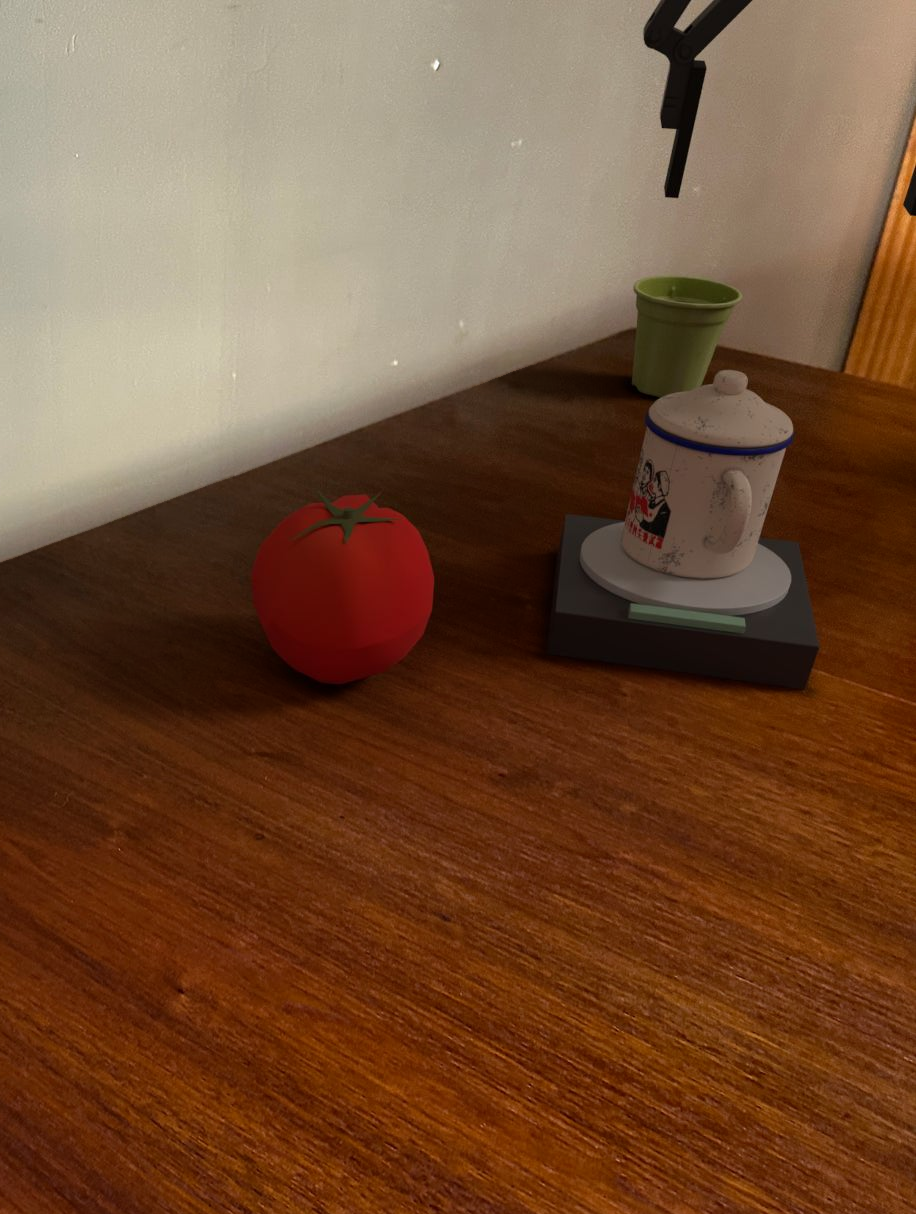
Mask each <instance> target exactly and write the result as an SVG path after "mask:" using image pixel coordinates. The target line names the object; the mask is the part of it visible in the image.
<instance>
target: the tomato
mask: <svg viewBox="0 0 916 1214" xmlns="http://www.w3.org/2000/svg"><path fill="white" fill-rule="evenodd" d="M315 492H316V493H317V495H318V496H319V497H320V499H321V501H322V502H311V503H309V504H307V505H305V506H303V507H301V508H299V509H298V510H296V511H294V512H292V513H290V514H289V515H287V516H286V517H284V518H283V520H282V521H281V522H279V523H278V525H277V526H275V528H274V529H273V530H272V531H271V533H270V534H268V536H267V537H266V539H265V540H264V541H263V542H262V543H261V544H260V546H259V548H258V551H257V553H256V556H255V558H254V561H253V565H252V568H251V570H250V585H251V593H252V600H253V608H254V611H255V613H256V615H257V618H258V620H259V623H260V624H261V627H262V629H263V631H264V633H265V635H266V638H267V640H268V643H269V644H270V647H271V648H272V650H273V651H274V652H275V653H276V655H278V657H279V658H281V659H282V660H283V661H284V662H285V663H286V664H287V665H289V666H290V667H291V668H292V669H293V670H294V671H297V672H299V673H301V674H303V675H305V676H307V677H309V678H311V679H313V680H315V681H316V682H319V683H322V684H331V685H339V686H340V685H343V684H347V683H351V682H354V681H358V680H360V679H364V678H369V677H373V676H375V675H379V674H382V673H383V672H386V671H387V670H390V668H392V667H393V666H395V665H396V664H398V663H399V662H400V661H402V660H404V658H406V656H407V655H408V654H409V652H410V651H411V650H412V649H413V648H414V646H415V645H416V644H417V643H418V642H419V640H420V639H421V638H422V637H423V635H424V633H425V630H426V628H427V625H428V622H429V619H430V617H431V614H432V612H433V605H434V604H433V603H434V590H435V589H434V588H435V575H434V571H433V567H432V563H431V559H430V554H429V551H428V549H427V546H426V544H425V542H424V540H423V537H422V536H421V533H420V531H419V530H418V529H417V528H416V527H415V526H414V524H412V522H410V520H409V519H408V518H407V517H405V515H403V514H402V513H400V512H398V511H395V510H394V509H392V508H390V507H379V506H378V505H377V504H376V503H375V501H376V500H377V498H378V497H379V496H380V495H381V494H382V493H383V491H380V492H378V493H377V494H376V495H375V496H373V497H372V498H370V497H369V496H368V495H367V494H353V495H352V494H349V495H347V494H346V495H342V496H340V497H339V498H338V499H335V500H334V501H333V502H331V501H330V500H329V499H328V498H327V497H326V496H324V494H323V493H322V492H321V491H319V490H315Z"/></svg>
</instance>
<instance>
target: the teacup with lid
mask: <svg viewBox="0 0 916 1214" xmlns="http://www.w3.org/2000/svg"><path fill="white" fill-rule="evenodd" d="M748 382H749V378H748V376H747V374H746V373H744V372H742V371H738V370H735V369H722V370H719V371H718V372H717V373H716V374H715V375H714V378H713V382H712V383H710V384H702V385H701V386H700V387H697V388H695V389H693V390H691V391H685V392H678V393H672V394H669V395H666V396H663V397H661V398H660V397H658V399H656V400H655V401H654V402H653V403H652V404H651V406H650V407H649V409H648V411H647V412H646V414H645V417H644V422H645V426H646V430H645V433H644V437H643V442H642V446H641V451H640V455H639V459H638V463H637V466H636V467H637V468H636V470H635V471H636V472H635V477H634V480H633V485H632V489H631V493H630V497H629V502H628V506H627V510H626V515H625V519H624V521H625V523H624V527H623V531H622V535H621V543H622V546H623V548H624V550H625V551H626V553H627V554H628V555H629V556H631V557H632V558H633V559H634V560H636V561H637V562H639V563H641V564H643V565H645V566H647V567H649V568H652V569H654V570H657V571H660V572H664V573H667V574H672V575H676V576H682V577H690V578H720V577H726V576H730V575H734V574H736V573H739V572H741V571H743V570H744V569H745V568H747V567H748V566H749V565H750V563H751V562H752V559H753V557H754V553H755V550H756V547H757V543H758V540H759V538H761V534H762V530H763V526H764V523H765V520H766V516H767V513H768V509H769V506H770V504H771V500H772V496H773V493H774V490H775V487H776V483H777V480H778V477H779V473H780V470H781V466H782V463H783V460H784V457H785V453H786V450H787V448H788V447H789V446H790V445H791V444H792V443H793V440H794V438H795V437H794V436H795V435H794V425H793V422H792V419H791V418H790V417H789V416H788V414H786V413H785V411H783V410H782V409H780V408H778V407H776V406H775V405H773V404H770V403H768V402H765V401H764V400H763V398H761V396H759V395H758V394H757V393H755V392H754V391H752V390H750V389H748V388H747V387H748Z"/></svg>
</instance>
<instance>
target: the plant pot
mask: <svg viewBox="0 0 916 1214" xmlns="http://www.w3.org/2000/svg"><path fill="white" fill-rule="evenodd" d="M632 290H633V292H634V293H635V295H636V297H635V308H636V310H637V317H636V331H635V343H634V353H633V354H634V355H633V365H632V374H631V375H632V376H631V377H632V378H631V385H632V386H633V387H636V388H637V390H638V392H640V393H641V394H644V395H648V396H652V397H653V396H654V397H657V398H661V397H663V396H666V395H669V394H672V393H678V392H685V391H691V390H693V389H695V388H697V387H700V386H703V382H704V379H705V377H706V374H707V371H708V369H709V366H710V364H711V361H712V358H713V356H714V353H715V350H716V348H717V345H718V343H719V341H720V337H721V335H722V332H723V330H724V328H725V325H726V322H727V321H728V320H729V319H730V317H731V315H732V313H733V311H734V309H735V306H736V305H738V304H739V303H740V302H741V301H742V298H743V294H742V292H741V291H740V290H739V289H737V288H736V287H734V286H732V285H728V284H726V283H724V282H720V281H717V280H713V279H707V278H702V277H694V276H684V275H657V276H649V277H644V278H641V279H639V280H638V279H637V281H635V282H634V283H633V289H632Z"/></svg>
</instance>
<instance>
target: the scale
mask: <svg viewBox="0 0 916 1214" xmlns="http://www.w3.org/2000/svg"><path fill="white" fill-rule="evenodd" d="M624 523H625V520H620V519H613V518H612V519H611V518H603V517H595V516H588V515H587V516H586V515H580V514H579V515H578V514H571V513H565V515H564V519H563V524H562V530H561V534H560V539H559V544H558V548H557V553H556V554H557V555H556V564H555V573H554V582H553V591H552V599H551V610H550V617H549V628H548V634H547V635H548V636H547V647H546V654H547V655H551V656H552V655H553V656H560V657H564V658H565V657H566V658H574V659H580V660H581V659H582V660H588V661H595V662H601V663H609V664H616V665H624V666H631V667H638V668H645V669H646V668H647V669H652V670H661V671H667V672H675V673H680V674H687V675H689V674H690V675H695V676H696V675H697V676H703V677H710V678H718V679H725V680H732V681H740V682H747V683H754V684H759V685H769V686H776V687H781V688H782V687H783V688H789V689H798V690H806V687H807V685H808V682H809V678H810V676H811V673H812V670H813V668H814V665H815V663H816V659H817V656H818V653H819V650H820V643H819V638H818V632H817V628H816V623H815V618H814V613H813V608H812V604H811V599H810V594H809V589H808V584H807V579H806V574H805V569H804V564H803V559H802V555H801V554H802V553H801V549H800V544H799V542H798V541H791V540H783V539H775V538H766V537H759V540H758V543H757V547H756V550H755V553H754V557H753V559H752V562H751V563H750V565H749V566H748V567H747V568H745V569H744V570H743V571H741V572H739V573H736V574H734V575H730V576H726V577H720V578H690V577H682V576H676V575H672V574H667V573H664V572H660V571H657V570H654V569H652V568H649V567H647V566H645V565H643V564H641V563H639V562H637V561H636V560H634V559H633V558H632V557H631V556H629V555H628V554H627V553H626V551H625V550H624V548H623V546H622V543H621V535H622V531H623V527H624Z"/></svg>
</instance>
